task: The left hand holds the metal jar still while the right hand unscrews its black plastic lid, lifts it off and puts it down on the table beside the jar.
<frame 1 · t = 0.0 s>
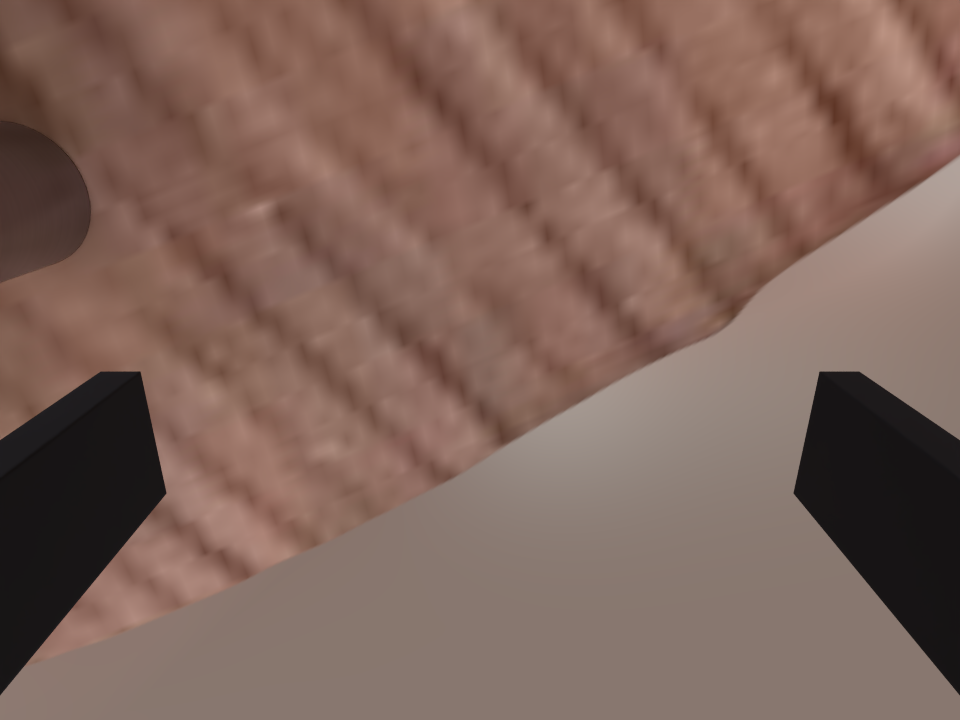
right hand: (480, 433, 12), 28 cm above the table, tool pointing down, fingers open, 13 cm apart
jar: (18, 196, 38), on the table
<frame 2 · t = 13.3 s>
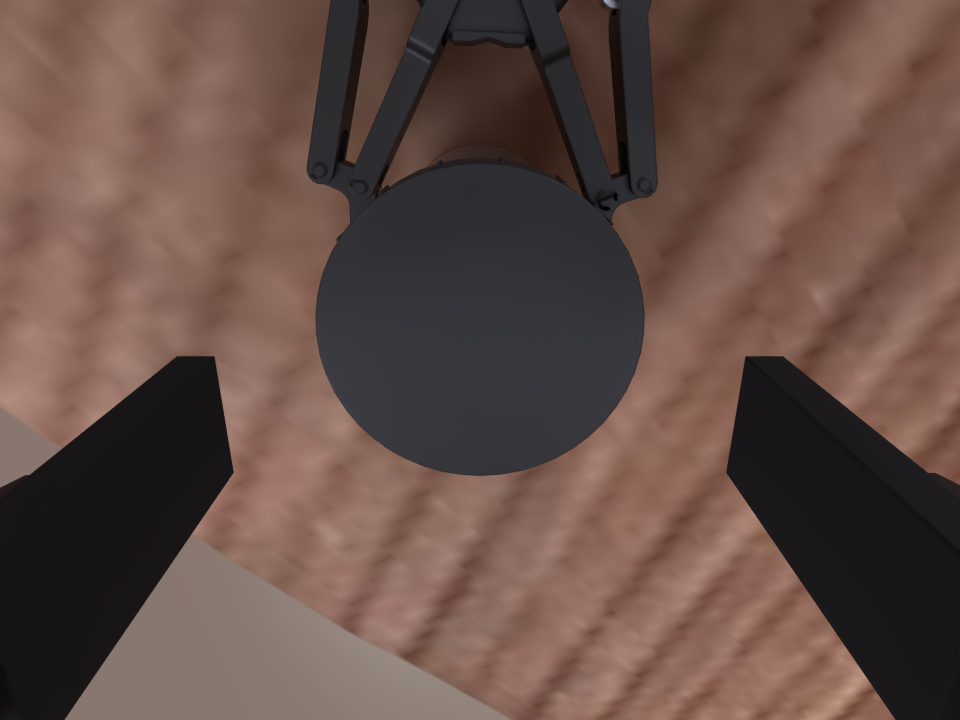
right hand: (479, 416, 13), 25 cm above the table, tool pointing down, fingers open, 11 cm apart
jar: (479, 221, 37), on the table, touching left hand
lid: (480, 330, 18), point 20 cm above the table, screwed on, not yet turned
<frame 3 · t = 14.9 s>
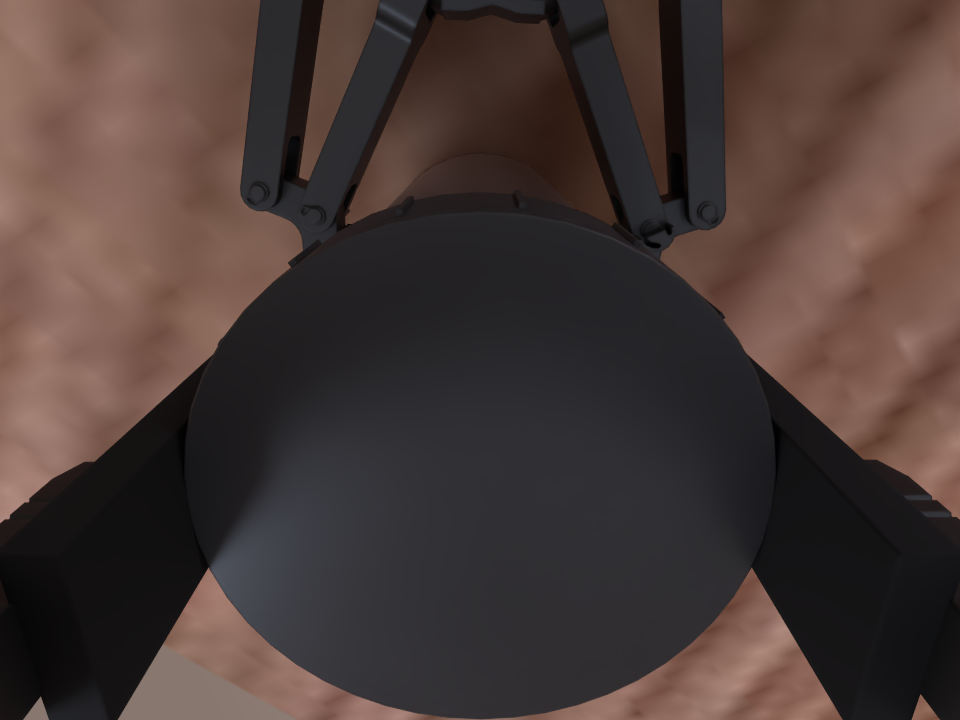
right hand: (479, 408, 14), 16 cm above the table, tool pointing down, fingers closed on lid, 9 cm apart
jar: (480, 251, 29), on the table, touching left hand
lid: (479, 496, 10), point 20 cm above the table, screwed on, not yet turned, touching right hand
when the right hand's fingers open (0 cm above the table, at t = 24.6 s): lid drops 2 cm, point 2 cm above the table.
when the left hand's fingers open (6 cm above the table, at t = 25.6 s): jar stays where it is, on the table.
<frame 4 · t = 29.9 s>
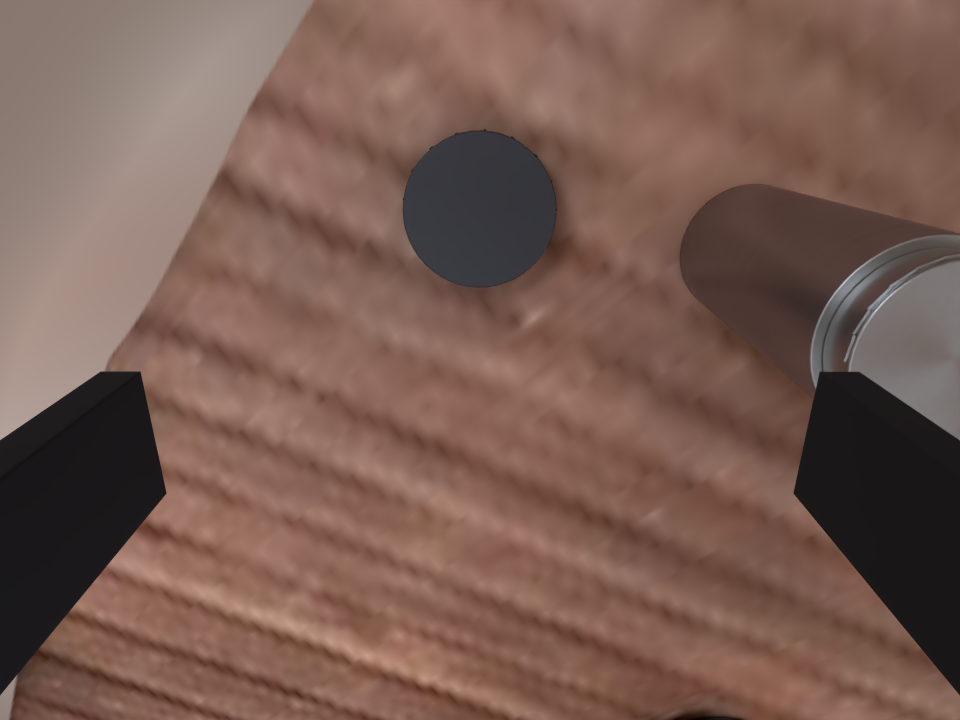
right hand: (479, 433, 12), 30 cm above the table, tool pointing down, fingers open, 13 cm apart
jar: (744, 250, 41), on the table
lid: (479, 212, 39), point 2 cm above the table, off its thread
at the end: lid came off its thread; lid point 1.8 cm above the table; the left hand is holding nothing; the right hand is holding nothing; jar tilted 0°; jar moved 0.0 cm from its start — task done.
